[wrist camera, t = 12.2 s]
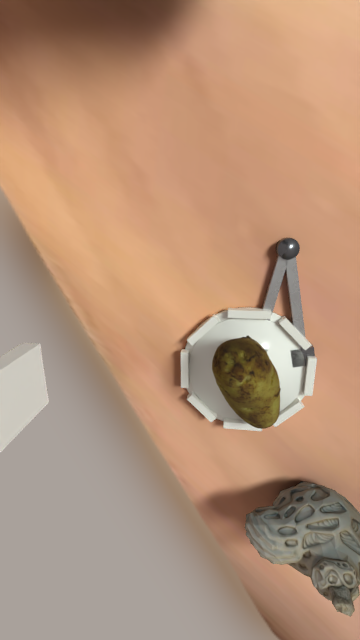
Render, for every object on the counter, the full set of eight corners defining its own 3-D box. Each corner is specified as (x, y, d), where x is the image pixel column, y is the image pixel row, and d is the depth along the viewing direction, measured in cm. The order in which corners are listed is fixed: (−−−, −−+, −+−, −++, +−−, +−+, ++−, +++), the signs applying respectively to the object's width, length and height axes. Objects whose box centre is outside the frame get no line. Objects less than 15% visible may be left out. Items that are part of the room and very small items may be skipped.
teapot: (232, 506, 50) (234, 619, 36) (253, 448, 46) (265, 549, 32) (368, 546, 49) (426, 680, 35) (401, 489, 45) (481, 613, 31)
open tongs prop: (247, 237, 38) (247, 238, 37) (328, 237, 37) (332, 238, 35) (240, 361, 43) (241, 365, 41) (312, 364, 41) (315, 369, 40)
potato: (213, 411, 44) (210, 451, 37) (213, 323, 40) (210, 347, 33) (274, 415, 43) (285, 456, 35) (281, 324, 39) (294, 349, 32)
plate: (182, 305, 41) (180, 308, 40) (318, 308, 39) (322, 312, 37) (183, 417, 47) (181, 424, 45) (303, 426, 44) (307, 434, 43)
